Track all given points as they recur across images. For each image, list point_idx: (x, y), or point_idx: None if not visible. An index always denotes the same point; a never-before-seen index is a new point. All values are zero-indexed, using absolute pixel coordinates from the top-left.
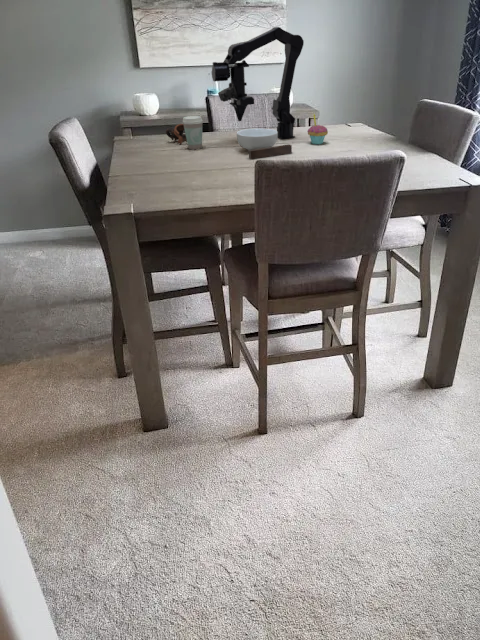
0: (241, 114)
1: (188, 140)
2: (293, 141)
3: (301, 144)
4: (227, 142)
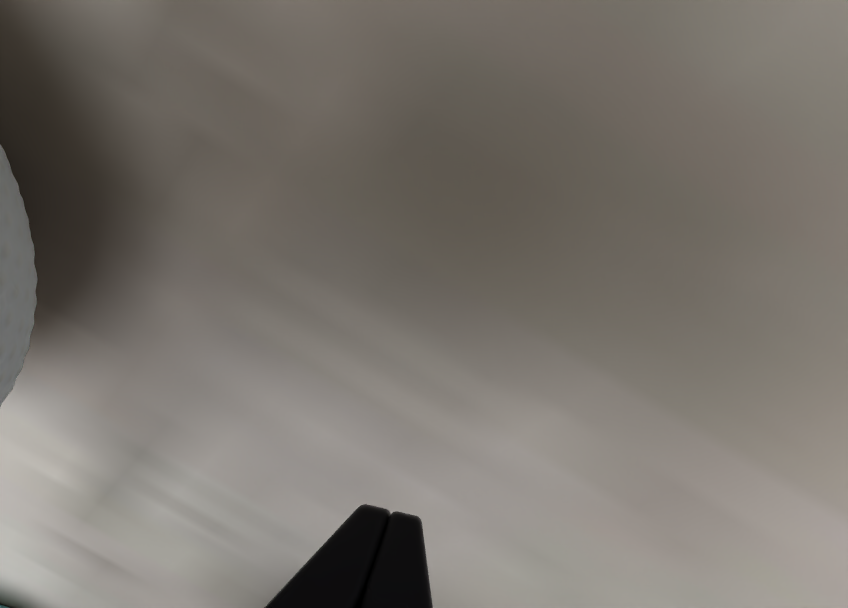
0: None
1: None
2: (157, 596)
3: (12, 558)
4: (666, 40)
